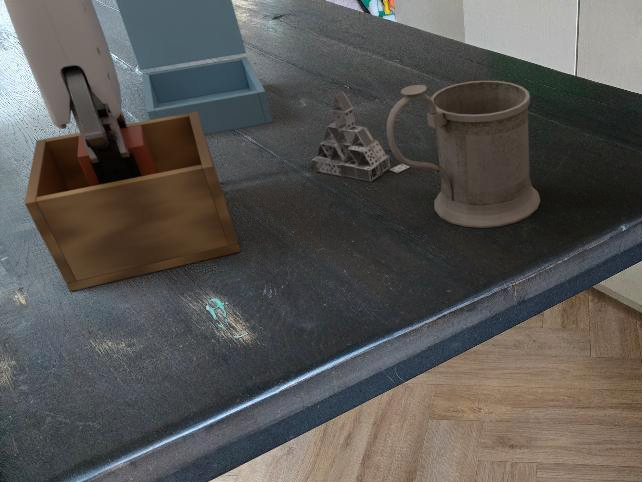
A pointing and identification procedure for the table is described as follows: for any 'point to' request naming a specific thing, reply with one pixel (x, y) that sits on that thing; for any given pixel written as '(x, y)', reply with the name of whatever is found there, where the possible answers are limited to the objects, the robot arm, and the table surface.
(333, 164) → the house of cards
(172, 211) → the open wooden crate
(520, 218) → the mug
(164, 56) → the lid
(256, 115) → the box
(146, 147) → the block
